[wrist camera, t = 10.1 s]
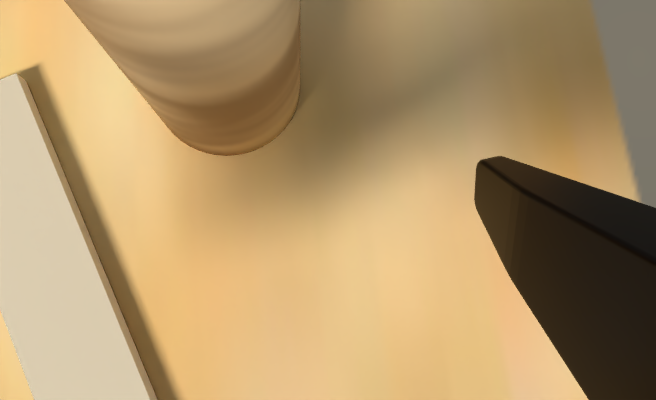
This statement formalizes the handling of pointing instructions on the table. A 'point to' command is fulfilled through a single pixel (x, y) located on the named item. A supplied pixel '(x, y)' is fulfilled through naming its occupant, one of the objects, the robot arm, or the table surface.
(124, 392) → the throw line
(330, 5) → the table surface
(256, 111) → the skittle
